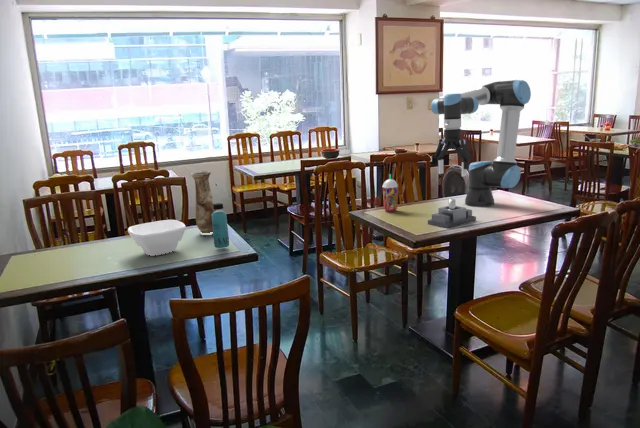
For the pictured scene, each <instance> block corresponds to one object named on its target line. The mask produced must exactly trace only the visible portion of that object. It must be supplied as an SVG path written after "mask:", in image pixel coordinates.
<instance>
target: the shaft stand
mask: <svg viewBox="0 0 640 428" xmlns="http://www.w3.org/2000/svg"><path fill="white" fill-rule="evenodd" d="M448 206H449V209H450V210H455V206H456V199H454V198H449V199H448ZM476 221H477V216H474V215H473V210H472V209H468V208H466V218H465V219H461V220H457V221H454V222H453V221H449V216H447V215H442V214H438V212H435V213H431V219H428V220H427V225H430V226H435V227H438V228H439V227H440V228H442V227H443V228H444V229H447V230H448V229H451V227H452V228H455V227H458V226H463V225H467V224H469V223H473V222H476Z"/></svg>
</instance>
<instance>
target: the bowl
mask: <svg viewBox="0 0 640 428" xmlns="http://www.w3.org/2000/svg"><path fill="white" fill-rule="evenodd" d="M186 227H187V226H186V225H185V223H184V222H182V221H180V220H176V219H165V220H164V219H163V220H157V221H151V222H145V223H139V224H136V225H132V226H129V227H128V228H127V232H128V234H129V235H130V237H131V238H132V240H133V241H134V243H135V244H136V245H137V246H139V247H140V248H141V249H142V251H143V253H144V254H146V255H147V256H149V255H150V257H154V256H155V255H156V256H160V255H161V254H162V255H165V253H166V254H169V252H170V253H173V252H172V251H174V252H176V250H177V247H178V245H179V242H181V241H182V239H183V237H184V234H185V231H186ZM162 255H161V256H162Z"/></svg>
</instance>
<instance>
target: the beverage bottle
mask: <svg viewBox="0 0 640 428" xmlns="http://www.w3.org/2000/svg"><path fill="white" fill-rule="evenodd" d="M213 209H214V210H216V211H215V212H213V213H212V215H211V216H212V226H213V235H212V236H213V245H214V248H216V249H225V248H228V247H230V238H229V228H228V217H227V213H226V211H224V210H222V209H224V204H223V203H221V202H218V203H214V205H213Z"/></svg>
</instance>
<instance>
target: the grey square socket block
mask: <svg viewBox="0 0 640 428" xmlns="http://www.w3.org/2000/svg"><path fill="white" fill-rule="evenodd" d="M466 209H467V207H464V206H459V205H455V210H450V209H449V205H446V206H441V207H439V208H438V209H437V213H438V214H442V215H447V216H449V221H453V222H454V221H457V220H461V219H465V218H466Z"/></svg>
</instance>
